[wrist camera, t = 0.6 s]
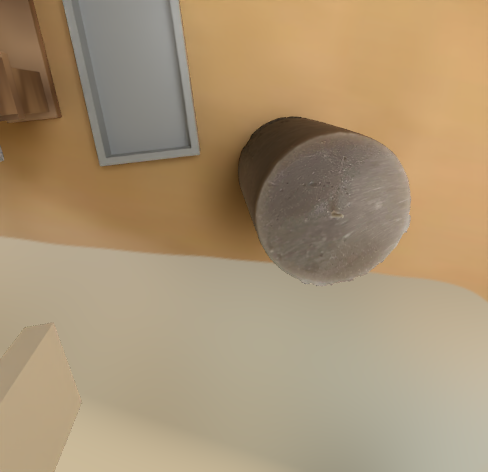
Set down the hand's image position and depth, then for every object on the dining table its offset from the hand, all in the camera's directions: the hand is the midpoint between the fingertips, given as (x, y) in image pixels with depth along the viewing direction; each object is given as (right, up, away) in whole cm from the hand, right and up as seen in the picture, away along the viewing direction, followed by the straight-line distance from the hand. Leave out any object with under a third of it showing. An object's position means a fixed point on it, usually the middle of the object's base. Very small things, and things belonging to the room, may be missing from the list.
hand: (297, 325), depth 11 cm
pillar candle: (+3, +8, +26) cm, 27 cm away
